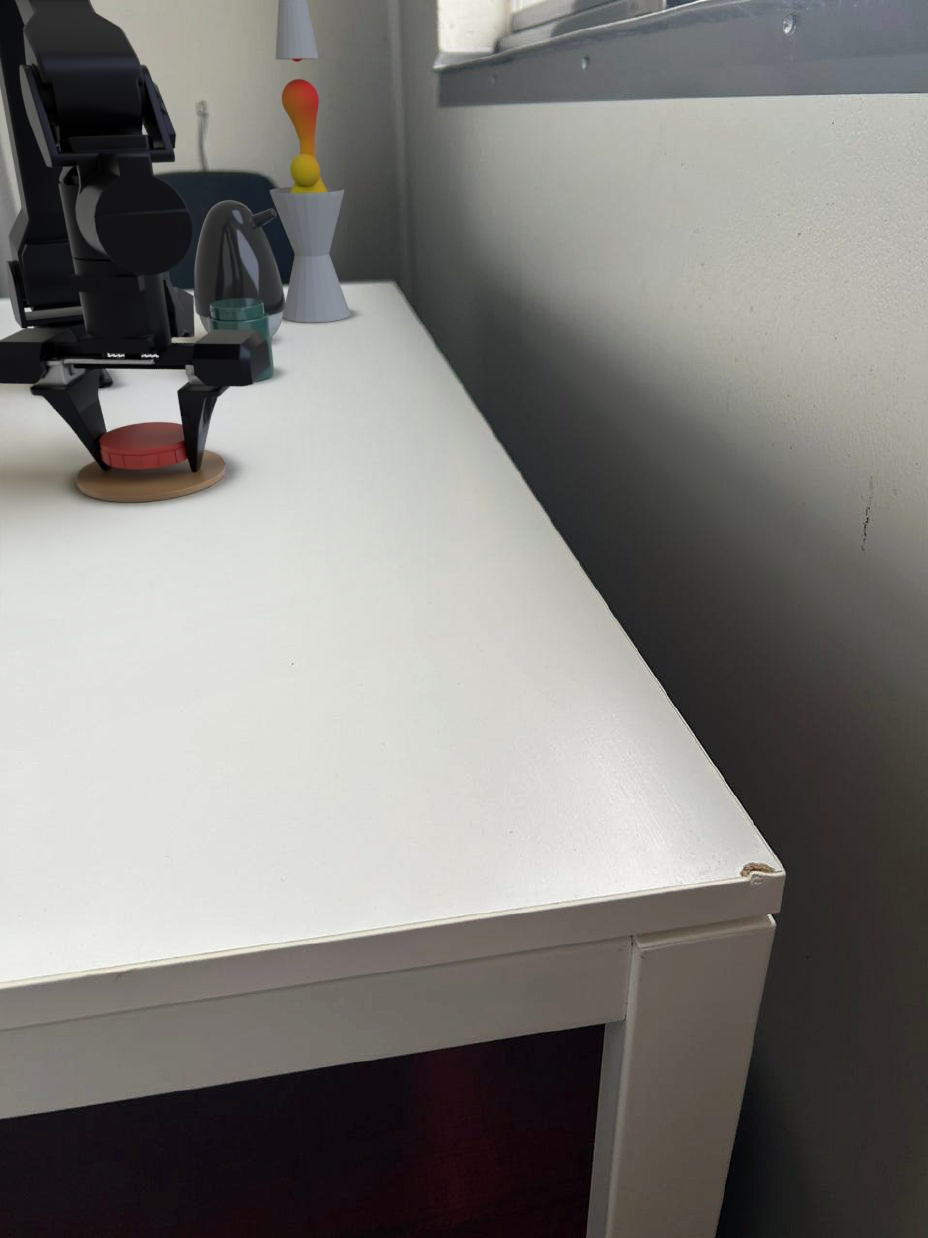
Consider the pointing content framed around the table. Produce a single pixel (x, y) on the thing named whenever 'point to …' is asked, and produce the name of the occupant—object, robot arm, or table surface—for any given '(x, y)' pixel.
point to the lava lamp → (307, 186)
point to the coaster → (150, 480)
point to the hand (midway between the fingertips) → (152, 469)
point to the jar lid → (144, 445)
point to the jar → (242, 321)
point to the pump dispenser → (237, 262)
